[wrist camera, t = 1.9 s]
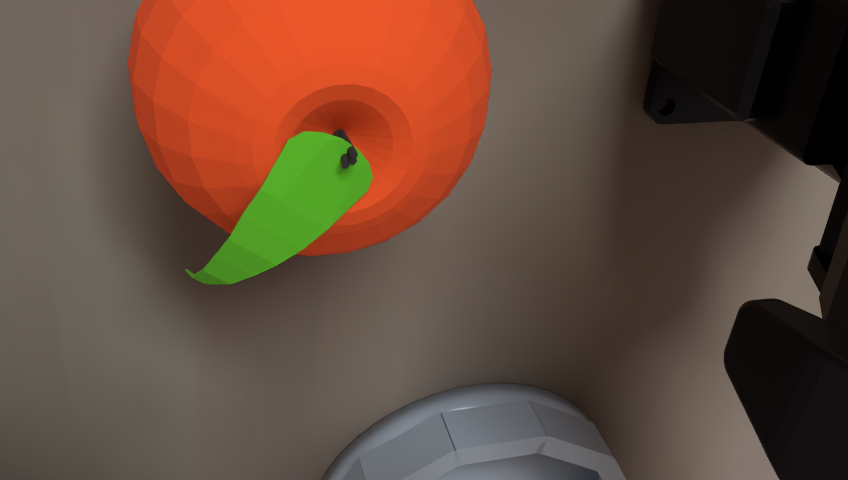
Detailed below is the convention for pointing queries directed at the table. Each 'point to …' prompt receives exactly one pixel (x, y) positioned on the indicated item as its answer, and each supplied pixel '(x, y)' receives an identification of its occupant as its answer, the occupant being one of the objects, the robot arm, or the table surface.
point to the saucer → (481, 440)
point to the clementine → (308, 117)
